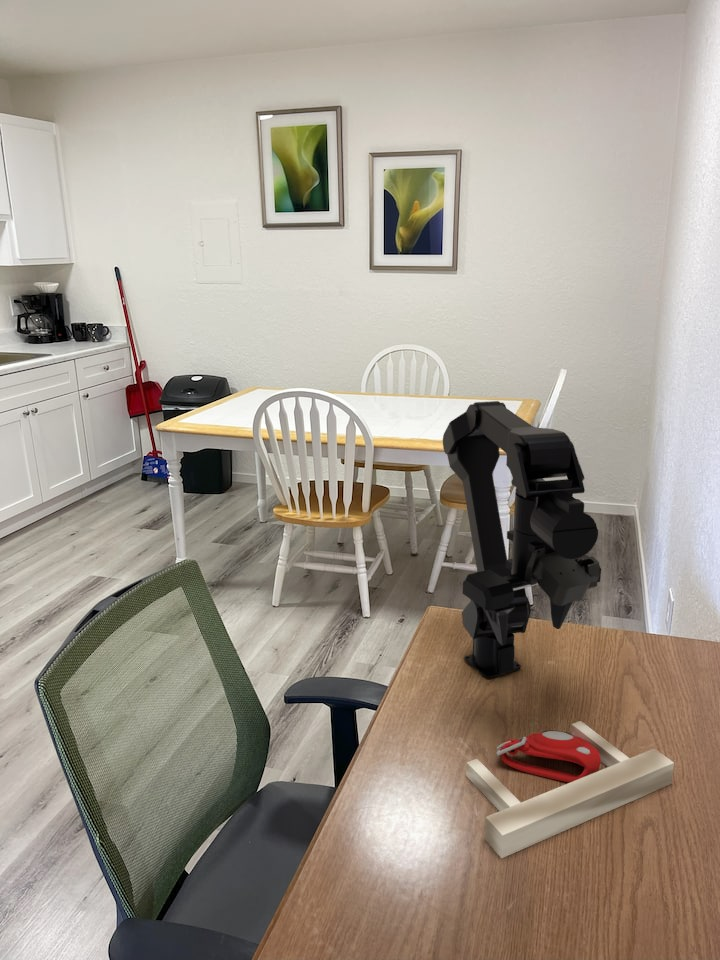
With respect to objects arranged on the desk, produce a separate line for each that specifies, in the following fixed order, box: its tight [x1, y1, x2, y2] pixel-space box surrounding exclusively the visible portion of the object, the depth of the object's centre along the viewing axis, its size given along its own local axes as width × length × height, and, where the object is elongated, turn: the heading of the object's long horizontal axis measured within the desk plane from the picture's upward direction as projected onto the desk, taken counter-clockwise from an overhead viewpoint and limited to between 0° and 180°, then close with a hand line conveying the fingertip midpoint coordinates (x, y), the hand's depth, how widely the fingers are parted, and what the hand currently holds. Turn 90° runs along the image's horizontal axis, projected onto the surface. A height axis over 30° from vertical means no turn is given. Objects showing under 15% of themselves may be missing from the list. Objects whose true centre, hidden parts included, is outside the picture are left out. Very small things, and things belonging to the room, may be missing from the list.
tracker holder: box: [495, 729, 601, 783], centre depth 92 cm, size 12×4×10 cm
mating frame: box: [465, 720, 675, 859], centre depth 88 cm, size 12×25×3 cm, turn 116°
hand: (529, 635), depth 100 cm, fingers open, 9 cm apart
